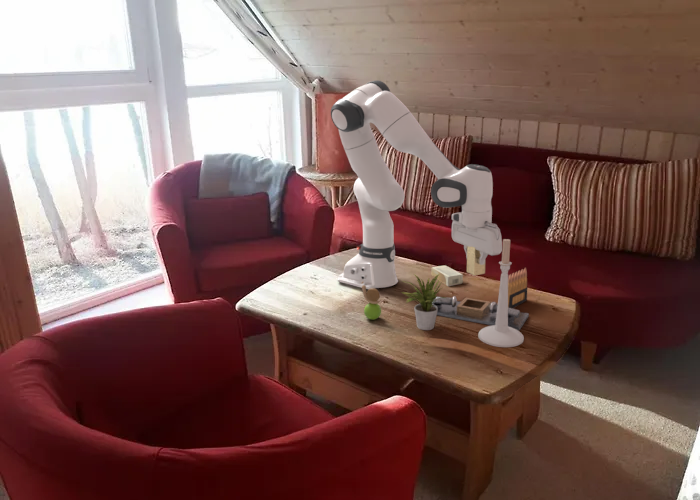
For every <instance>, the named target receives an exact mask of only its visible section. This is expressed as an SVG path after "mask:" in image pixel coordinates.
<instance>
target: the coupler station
mask: <svg viewBox="0 0 700 500" xmlns="http://www.w3.org/2000/svg"><path fill="white" fill-rule="evenodd" d="M491 303H492V301H488V300H483V299H482V300H481V299H477V298H469V297H465V298H463V300H461V301H458V300H457V302H456V306H455V307H452V305H443V304H442V307H441V309H438V310H437V315H436V316H440V317H445V318H450V319H454V320H461V321H466V322H471V323H478V324H482V325H487V326H492V325H495V322H496V315H497V312H495V313H490V312H489V307H490V304H491ZM528 318H529V313H528V312H522V311H520V314H519V317H518V318H515V317H514V319H513V320H512V321H510V322H508V326H509V327H512V328H514V329H516V330H518V331H521V329H522V327H523V326H524V324H525V323H526V321H527V319H528Z"/></svg>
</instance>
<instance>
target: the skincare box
mask: <svg viewBox="0 0 700 500" xmlns="http://www.w3.org/2000/svg"><path fill="white" fill-rule="evenodd" d="M430 271H431V273H430V275H431V276H432V277H433V278H434V277H435V276H437V275H438V274H440V275H439V276H438V277H437V281H438V280H439V279H440V280H439V282H440V283H441V282H442V283H443V284H444V285H446V286H447V287H451V286H456V285H461V284H463V277H464V276H463V273H462V272H461V273H460V272H459V271H456V270H455V269H453V268H451V267H449V266H447V265H446V264H445V265H438V266H434V267H431V270H430ZM442 283H441V284H442Z"/></svg>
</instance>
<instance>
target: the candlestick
mask: <svg viewBox="0 0 700 500" xmlns="http://www.w3.org/2000/svg"><path fill="white" fill-rule="evenodd" d="M510 250H511V239H509V238H503V239H502V252H501V261H499V262H498V264H499V265H500V268H499V269H500V270H501V274H500V281H499V288H498V289H499V290H498V298H497V299H498V300H497V305H498V306H497V315H496V322H495V325H487V326H485V327H483V328H481V329H480V330H479V332H478V335H477V337H478V339H479V341H481V342H483V343H484V344H486V345H488V346H493V347H495V348H496V347H498V348H513V347H517V346H519V345H521V344H523V343H524V341H525V340H524V339H525V338H524V335H523V334H522V332H520V330H516V329H514V328H512V327H509V326H508V279H509V271H510V269H511V265H512V263H513V262H511V261H510V253H511V252H510Z"/></svg>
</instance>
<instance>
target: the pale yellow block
mask: <svg viewBox="0 0 700 500" xmlns="http://www.w3.org/2000/svg"><path fill="white" fill-rule="evenodd" d="M480 256H481V254H480V251H478V250H476V249H475V247H468V246H467V259H466V273H468V274H470V275H472V276H478V275H484V274H486V263H485V264H483V265H480V264H478V263H477V262H478V258H480Z"/></svg>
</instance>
